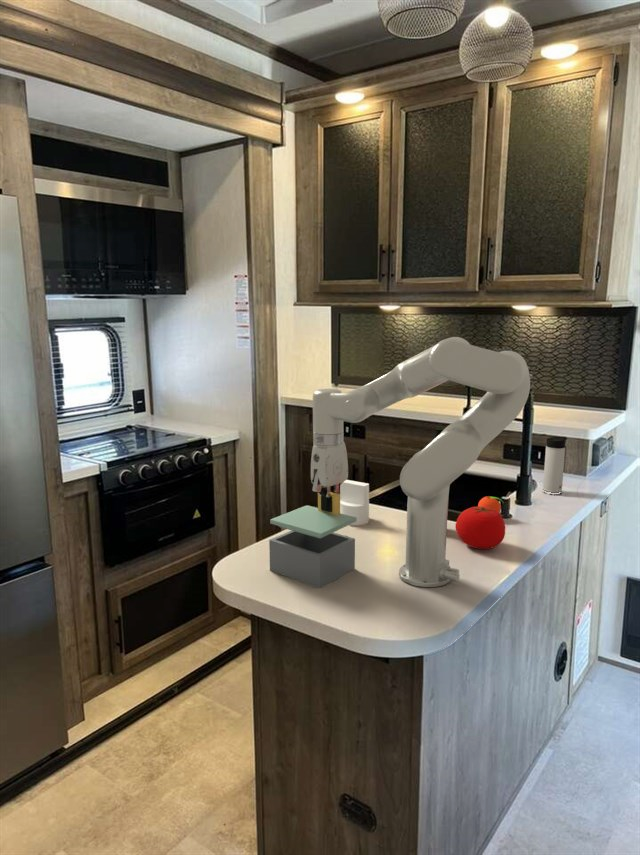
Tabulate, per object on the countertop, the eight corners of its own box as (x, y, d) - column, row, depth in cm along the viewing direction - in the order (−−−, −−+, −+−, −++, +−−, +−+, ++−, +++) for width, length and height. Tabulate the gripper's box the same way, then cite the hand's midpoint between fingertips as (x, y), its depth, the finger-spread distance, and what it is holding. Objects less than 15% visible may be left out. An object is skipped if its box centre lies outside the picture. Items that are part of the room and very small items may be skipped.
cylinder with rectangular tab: (333, 521, 189) (334, 483, 187) (349, 513, 197) (349, 477, 194) (359, 527, 184) (360, 488, 182) (374, 518, 192) (374, 481, 189)
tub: (354, 568, 155) (355, 538, 154) (319, 588, 145) (319, 556, 143) (305, 553, 165) (305, 524, 164) (269, 570, 155) (269, 539, 153)
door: (356, 525, 153) (356, 497, 152) (321, 541, 142) (320, 512, 141) (307, 512, 163) (306, 486, 162) (270, 527, 152) (269, 500, 151)
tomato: (497, 558, 162) (499, 518, 160) (449, 547, 169) (451, 509, 167) (510, 543, 172) (512, 505, 170) (464, 534, 179) (466, 497, 177)
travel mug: (565, 495, 215) (569, 439, 211) (546, 495, 215) (550, 439, 212) (558, 490, 221) (563, 435, 218) (540, 490, 222) (544, 435, 218)
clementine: (502, 515, 195) (503, 493, 194) (505, 522, 188) (506, 500, 187) (476, 513, 196) (477, 492, 195) (478, 521, 190) (479, 499, 188)
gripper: (320, 446, 145) (321, 521, 149) (358, 435, 157) (359, 505, 161) (296, 442, 150) (297, 515, 153) (335, 432, 162) (336, 499, 165)
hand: (329, 509), depth 157 cm, fingers closed on door, 1 cm apart
